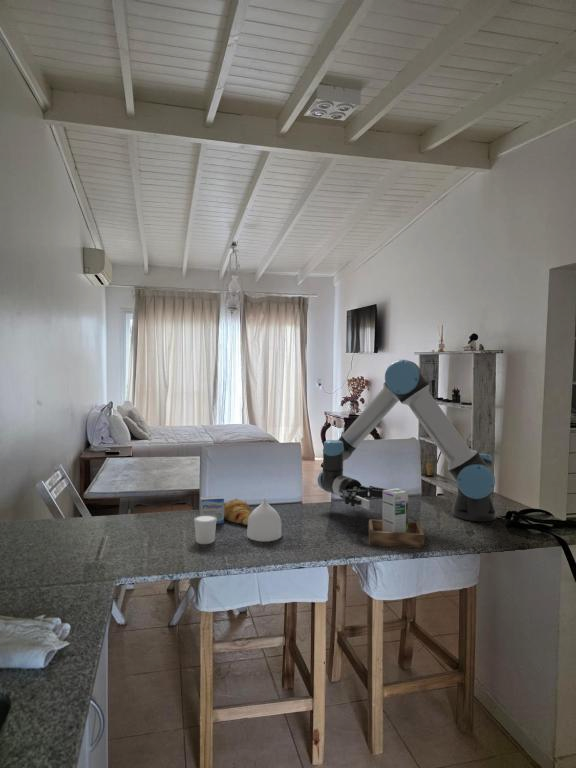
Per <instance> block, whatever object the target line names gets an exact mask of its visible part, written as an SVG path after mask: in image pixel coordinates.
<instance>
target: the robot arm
mask: <svg viewBox="0 0 576 768" xmlns="http://www.w3.org/2000/svg"><path fill="white" fill-rule="evenodd" d="M382 385H383V388H381V390H380V391H379V393H377V395H376V396H375V397H374V398H373V400H372V401H371V402H369V404H368V405H367V406H366V408H365V409H363V411H362V412H361V413H360V414H359V415H358V416H357V418H356V419H355V420H354V421H353V422H352V423H351V424H350V426H349V427H348V428H347V429H346V430H345V432H344V433H342V435H341V436H339V438H338V439H337V440H336V439H328V440H325V441H324V442H323V449H322V452H323V453H322V471H320V473H319V475H318V477H317V484H318V486H319V488H320V489H322V490H323V491H325V492H327V493H331V494H333V495H336V496H338V497H339V498H341V499H342V500H343V502H344V504H345V505H350V507H355V506H358V507H360V508H362V509H363V508H364V509H365V510H370V509H371V508H370V507H371V506H370V505H371V504H370V503H371V502H370V501H371V500H369V499H372V498H378V499H379V498H380V499H383V490H389V488H388V489H387V488H382V487H377V486H373V485H369V486H364V485H362V484H361V482H360V481H359V480H357V479H354V478H351V477H349V476H346V475H344V462H345V460H348V459H349V458H350V457H351V456H352V455H353V453H354V451H356V450H357V448H358V447H359V446H360V444H361V443H363V441H364V440H365V439H366V438H367V437H368V436H369V434H370V433H371V432H372V431H373V430H374V429H375V428H376V427H377V426H378V424H380V422H381V421H382V420H383V419H384V418H385V416H386V415H387V414H388V413H389V412H390V411H391V409H393V407H394V406H395V405H397V404H398V402H400V403H401V405H406V406H408V407H409V408H410V409H411V411H412V413H413V415H415V418H417V421H419V423H420V425H422V426H423V429H424V430H425V431H426V433H427V435H428V436H429V437H430V439H431V440H432V441H433V443H434V444H435V446H436V447H437V448H438V450H439V451H440V453H441V454H442V455H443V457H444V459H445V460H446V461H447V462H448V464H447V470H448V471H449V473H450V474H451V476H452V477H453V478H454V480H455V482H456V483H457V493H456V497H455V499H454V502H453V505H452V507H451V508H452V509H451V511H452V512H451V514H452V515H453V516H454V517H456V518H459V519H461V520H466V521H469V522H470V521H472V522H492V521H495V520H496V519H497V511H496V507H495V504H494V501H493V498H492V497H493V496H492V492H493V490H494V487H495V485H496V478H495V474H494V473H493V472H494V471H493V463H494V461H493V456H492V455H491V454H488V453H487V454H486V453H479V452H478V451H477V450H475V449H471V448H470V446H469V445H468V444H467V442H466V441H465V440H464V438H463V437H462V436H461V434H460V432H458V430H457V429H456V427H455V426H454V424H453V423H452V422H451V420H450V419H449V417H448V416H447V414H446V413H445V412H444V411H443V409H442V408H441V406H440V405H439V404H438V402H437V401H436V399H435V398H434V396H432V394H431V393H430V383H429V382H428V381H427V379H426V378H425V377H424V375H423V374H422V370H421V369H420V366H419V365H417V364H416V362H414V361H411V360H407V359H398V360H395V361H393V362H392V363H391V364H389V366H388V367H387V369H386V370H385V373H384V382H383V384H382Z"/></svg>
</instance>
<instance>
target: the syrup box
mask: <svg viewBox="0 0 576 768" xmlns="http://www.w3.org/2000/svg"><path fill="white" fill-rule="evenodd" d="M388 489H389V488H388ZM382 520H383V522H382V524H383V525H382V532H399V533H408V521H409V491H408V490H405V489H402V488H397V487H396V488H390V489H389V490H383V498H382Z"/></svg>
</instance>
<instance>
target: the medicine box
mask: <svg viewBox="0 0 576 768" xmlns="http://www.w3.org/2000/svg"><path fill="white" fill-rule="evenodd" d="M224 503H225V498H224V496H223V495H218V496H217V495H216V496H200V497H199V516H205V515H209V516H214V517H216V518H217V520H216V525H222V524H224V522H225V518H224Z"/></svg>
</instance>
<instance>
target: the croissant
mask: <svg viewBox="0 0 576 768" xmlns="http://www.w3.org/2000/svg"><path fill="white" fill-rule="evenodd" d="M252 512H253V511H252V510H251V509H250V506H249V505H248V503H247V502H246V501H244V500H242V499H240V498H239V499H238V498H234V499H231V500H229V501H228V502H224V519H225V520H227V521H228V522H231V523H236V524H240V525H241V524H242V525H246V526H248V519H249V516H250V514H251V513H252Z"/></svg>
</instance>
